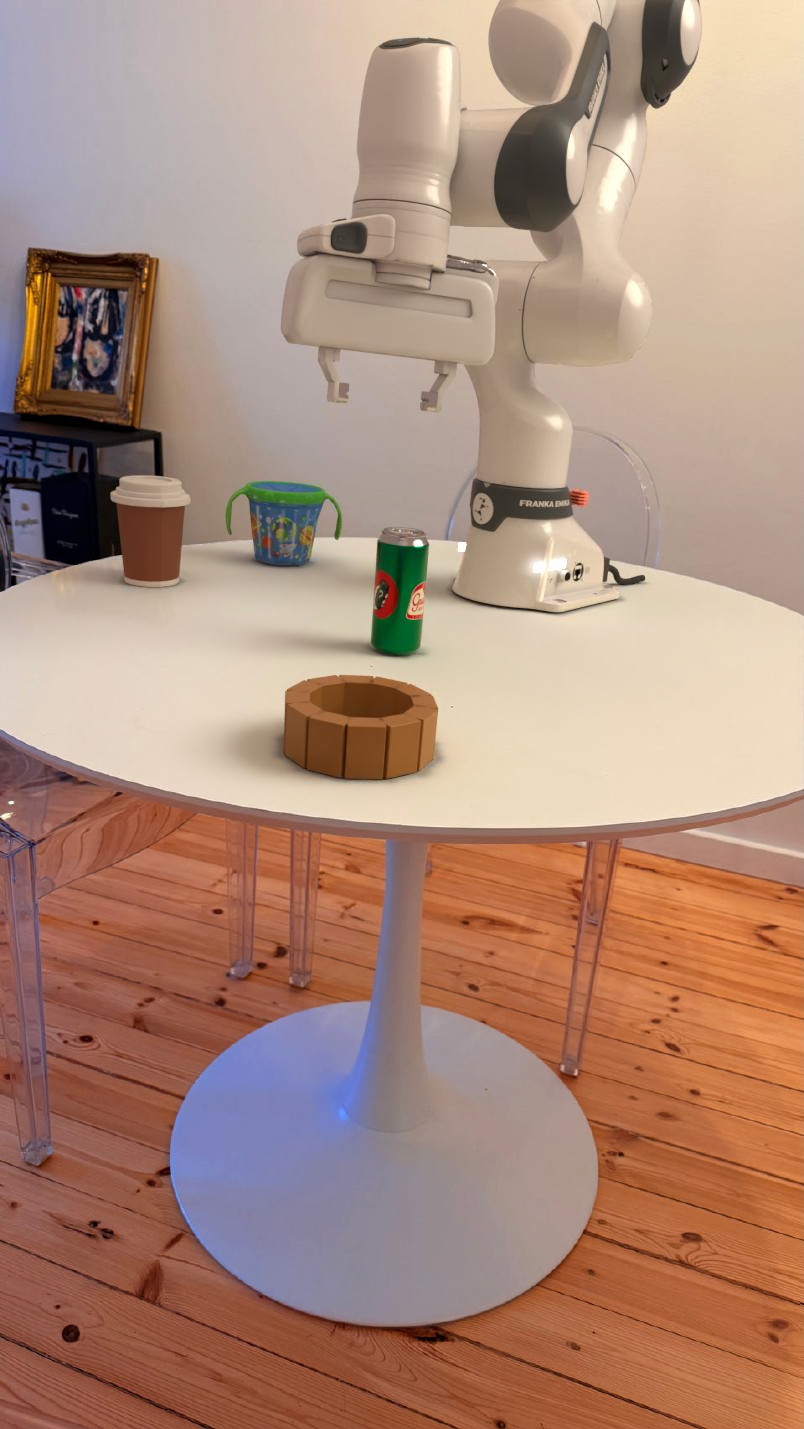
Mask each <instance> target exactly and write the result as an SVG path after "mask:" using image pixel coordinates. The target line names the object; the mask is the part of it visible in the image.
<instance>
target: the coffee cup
mask: <svg viewBox="0 0 804 1429" xmlns="http://www.w3.org/2000/svg"><path fill="white" fill-rule="evenodd" d="M118 480H119V483H118V484H119V486H116V488H115V490H112V491H111V492H110V501H111V502H113V503H116V509H117V510H116V511H117V512H116V513H117V521H118V530H119V538H120V539H119V541H120V549H121V550H120V551H121V558H122V567H123V568H122V569H123V580H124V583H127V584H129V585H131V586H136V587H146V588H163V587H171V586H175V585H177V584H178V583H179V582H180V572H181V571H180V570H181V561H182V560H181V559H182V546H183V533H184V523H185V522H184V521H185V511H186V510H185V509H186V506H188V505H190V504H191V502H192V500H191V499H192V498H191V496H190V494H189V493H187V492H186V491H185V490H184V488H183V486H182V485H183V484H182V482H181V480H180V479H178V478H174V477H169V476H168V477H167V476H160V475H143V474H142V475H139V474H138V475H125V476H122V477H120V478H119V479H118Z"/></svg>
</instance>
